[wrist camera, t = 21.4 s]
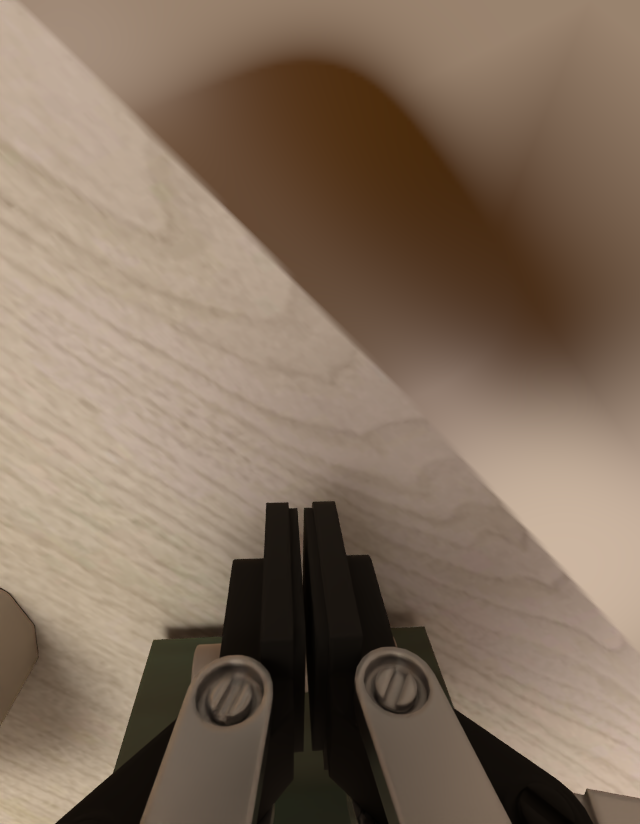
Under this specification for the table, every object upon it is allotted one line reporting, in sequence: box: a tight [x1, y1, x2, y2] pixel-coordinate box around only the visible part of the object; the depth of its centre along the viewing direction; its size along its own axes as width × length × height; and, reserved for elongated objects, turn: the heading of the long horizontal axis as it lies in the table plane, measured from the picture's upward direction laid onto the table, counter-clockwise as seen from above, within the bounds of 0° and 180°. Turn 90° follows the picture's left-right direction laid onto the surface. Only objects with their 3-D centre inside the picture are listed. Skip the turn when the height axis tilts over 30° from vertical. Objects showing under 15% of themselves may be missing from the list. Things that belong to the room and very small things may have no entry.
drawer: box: [113, 627, 454, 824], centre depth 17 cm, size 18×11×8 cm, turn 178°
